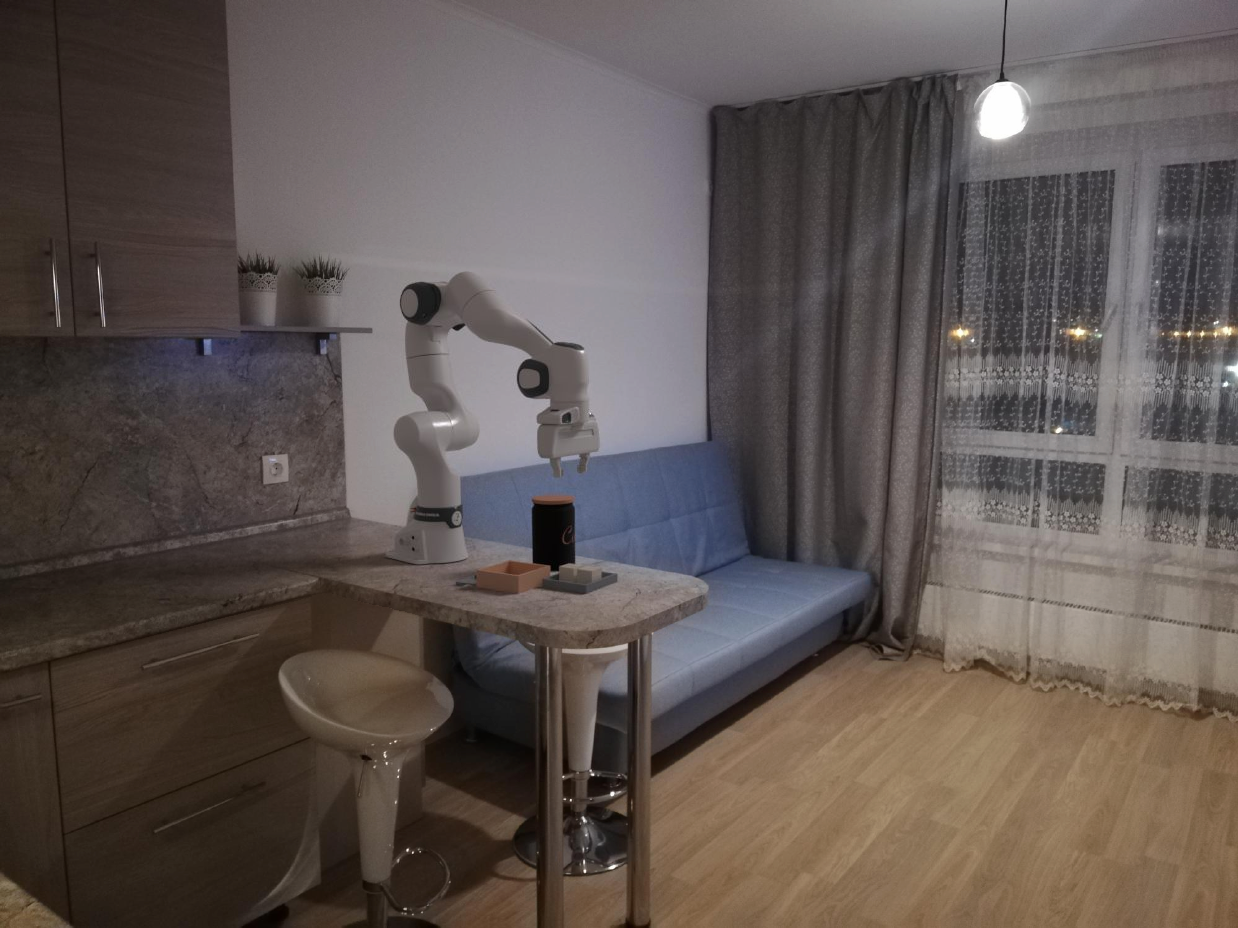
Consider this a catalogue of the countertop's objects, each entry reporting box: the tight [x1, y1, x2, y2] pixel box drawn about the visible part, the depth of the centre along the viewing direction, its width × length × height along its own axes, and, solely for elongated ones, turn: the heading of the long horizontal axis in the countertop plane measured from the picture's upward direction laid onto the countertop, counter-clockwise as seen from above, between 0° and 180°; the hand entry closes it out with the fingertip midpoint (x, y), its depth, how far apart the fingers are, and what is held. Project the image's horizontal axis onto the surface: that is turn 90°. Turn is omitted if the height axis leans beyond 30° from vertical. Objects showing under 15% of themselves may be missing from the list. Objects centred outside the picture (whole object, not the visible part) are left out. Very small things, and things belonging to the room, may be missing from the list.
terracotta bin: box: [475, 559, 551, 595], centre depth 211 cm, size 12×12×4 cm
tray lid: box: [455, 573, 477, 587], centre depth 216 cm, size 7×10×2 cm
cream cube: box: [558, 563, 584, 583], centre depth 212 cm, size 4×4×4 cm
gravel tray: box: [541, 571, 618, 595], centre depth 211 cm, size 12×13×2 cm
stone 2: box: [577, 565, 603, 584], centre depth 210 cm, size 4×4×4 cm
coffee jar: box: [531, 494, 576, 572], centre depth 229 cm, size 11×11×18 cm
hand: (570, 475), depth 210 cm, fingers open, 8 cm apart
